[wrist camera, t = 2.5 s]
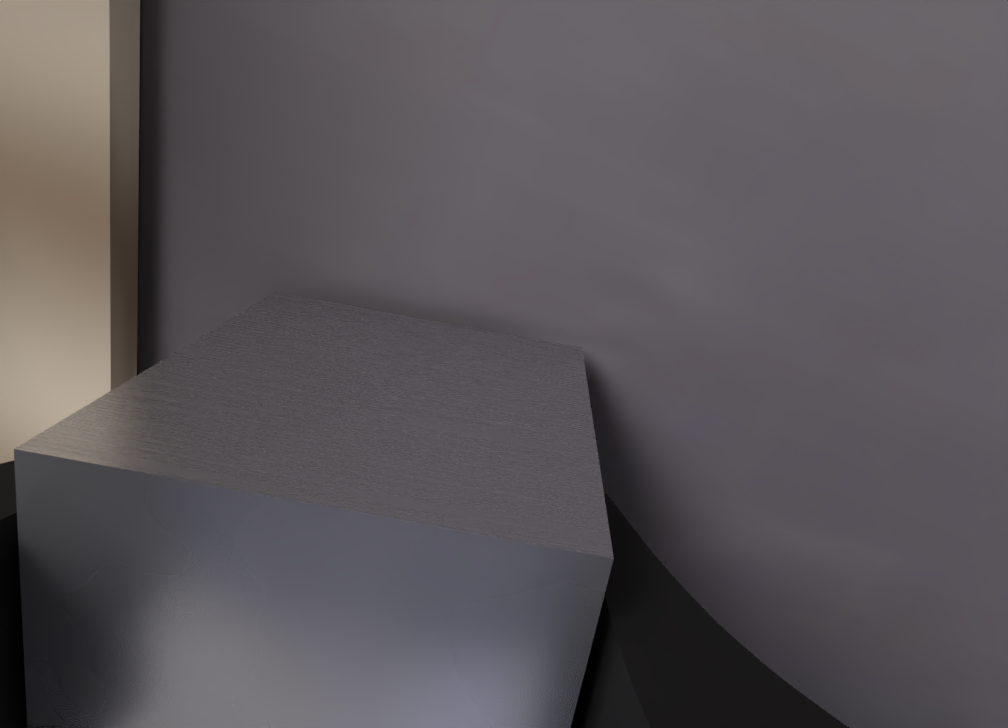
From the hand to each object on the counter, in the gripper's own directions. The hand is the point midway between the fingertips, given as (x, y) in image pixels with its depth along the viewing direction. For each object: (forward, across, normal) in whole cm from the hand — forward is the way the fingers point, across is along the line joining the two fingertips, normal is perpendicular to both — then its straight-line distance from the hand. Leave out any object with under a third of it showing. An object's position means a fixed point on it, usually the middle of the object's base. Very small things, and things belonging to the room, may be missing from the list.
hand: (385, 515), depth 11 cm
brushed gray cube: (+2, 0, 0) cm, 2 cm away
